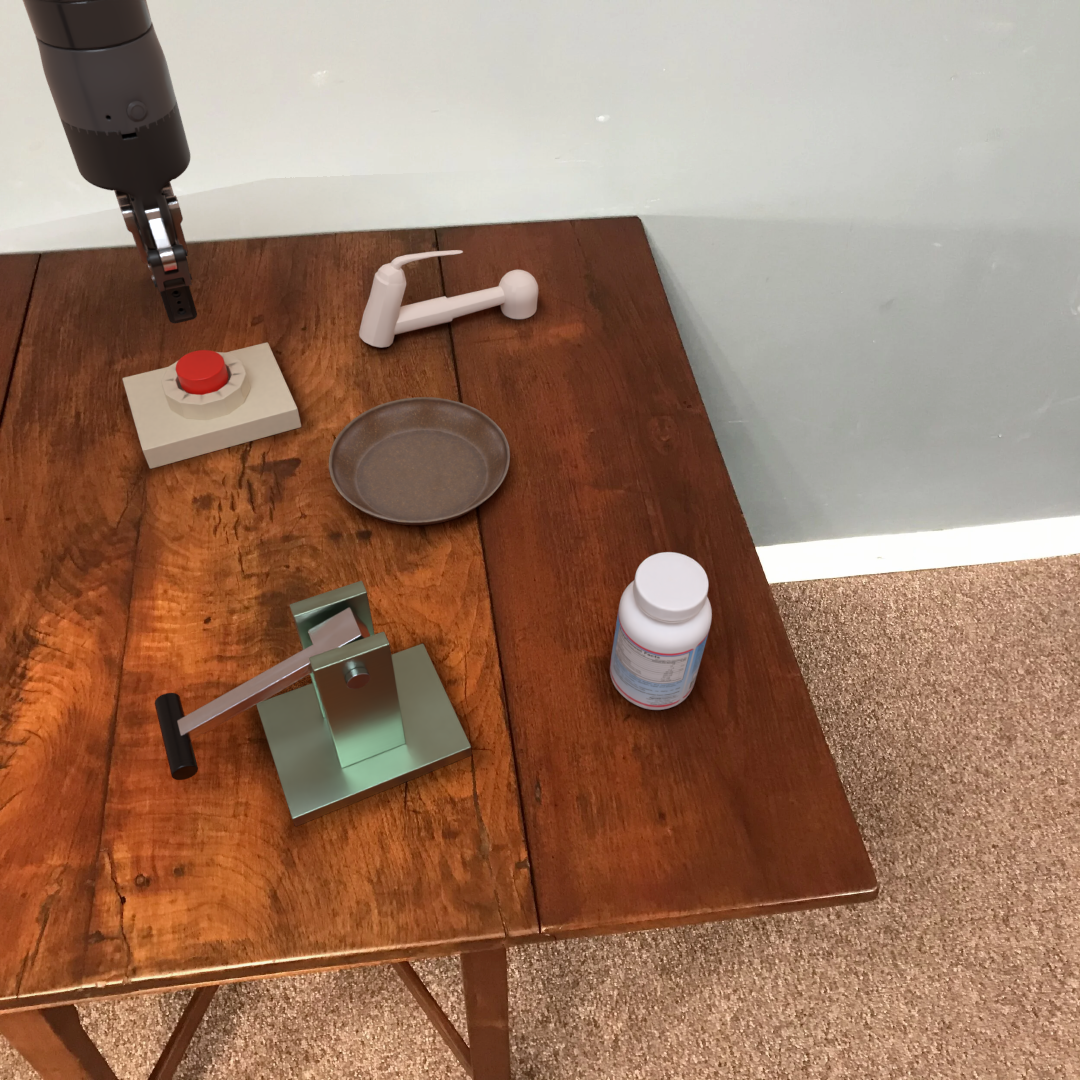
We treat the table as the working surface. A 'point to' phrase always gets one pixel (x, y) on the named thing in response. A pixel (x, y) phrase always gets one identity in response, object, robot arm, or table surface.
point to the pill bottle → (661, 631)
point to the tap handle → (246, 693)
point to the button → (202, 372)
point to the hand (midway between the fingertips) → (182, 316)
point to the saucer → (419, 460)
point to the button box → (211, 408)
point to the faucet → (437, 301)
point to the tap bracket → (357, 716)
